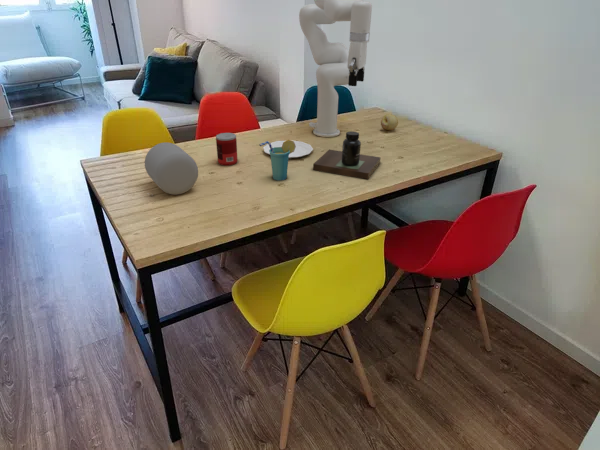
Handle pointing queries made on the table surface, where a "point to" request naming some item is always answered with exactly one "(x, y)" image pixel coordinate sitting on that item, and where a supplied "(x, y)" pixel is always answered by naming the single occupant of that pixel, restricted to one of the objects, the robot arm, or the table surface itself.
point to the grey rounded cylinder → (171, 168)
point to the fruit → (389, 122)
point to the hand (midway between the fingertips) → (356, 83)
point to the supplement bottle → (351, 149)
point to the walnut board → (333, 164)
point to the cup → (280, 158)
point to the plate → (299, 150)
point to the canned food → (226, 149)
